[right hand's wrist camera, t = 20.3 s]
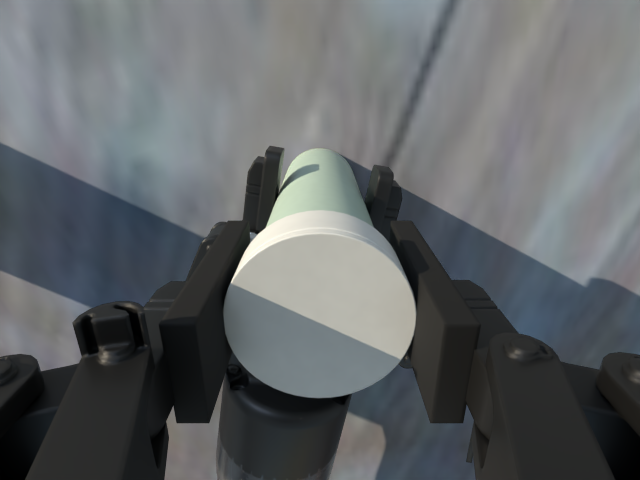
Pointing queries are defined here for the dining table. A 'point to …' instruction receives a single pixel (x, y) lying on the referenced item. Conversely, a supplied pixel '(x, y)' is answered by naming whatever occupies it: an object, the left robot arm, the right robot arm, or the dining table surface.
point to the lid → (319, 306)
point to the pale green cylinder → (319, 187)
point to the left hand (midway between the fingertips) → (329, 160)
